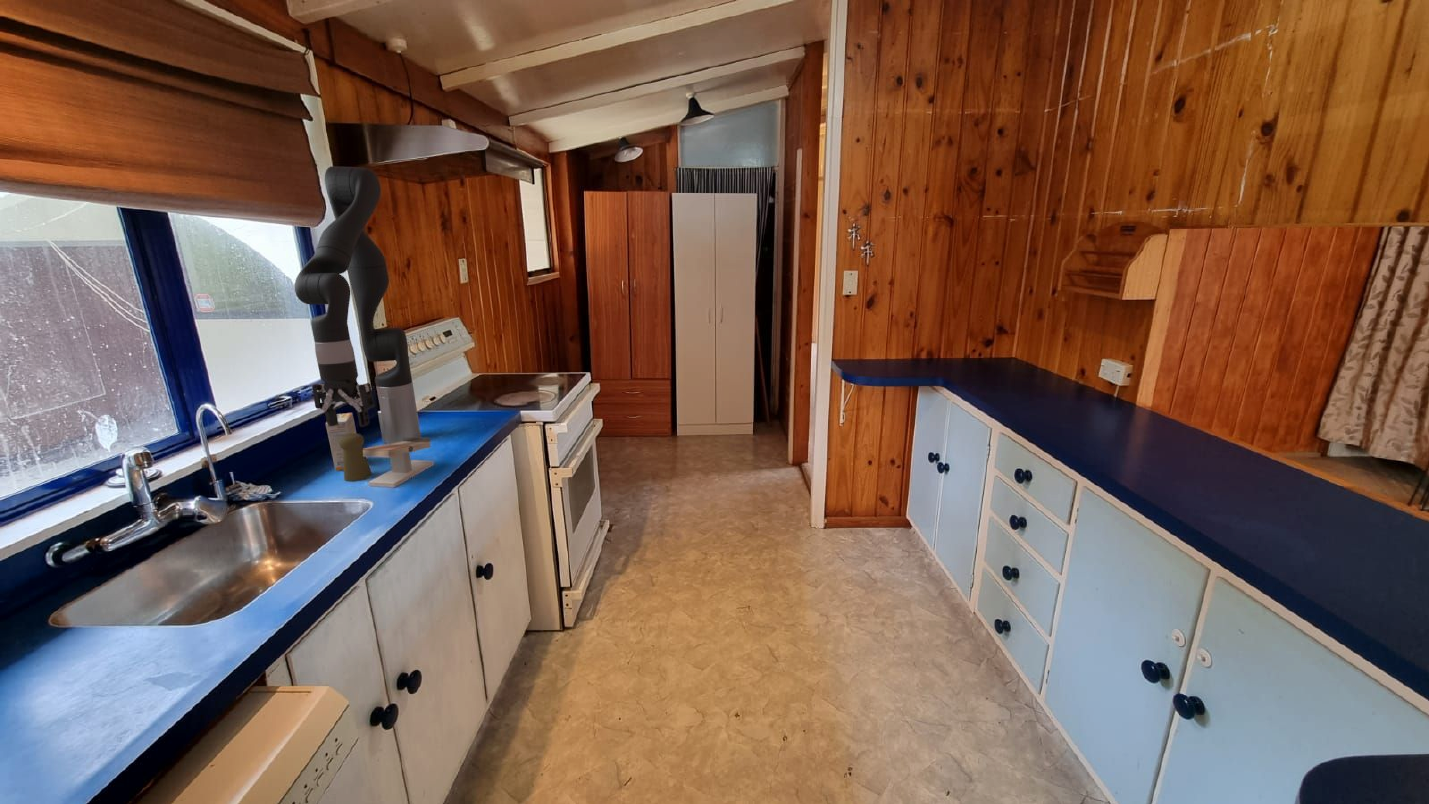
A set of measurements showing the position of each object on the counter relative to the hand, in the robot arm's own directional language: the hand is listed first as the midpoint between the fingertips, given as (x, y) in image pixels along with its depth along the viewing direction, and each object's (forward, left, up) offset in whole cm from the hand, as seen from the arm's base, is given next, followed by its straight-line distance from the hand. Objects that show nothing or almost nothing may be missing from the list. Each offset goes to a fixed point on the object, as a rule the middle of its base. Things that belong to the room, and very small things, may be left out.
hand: (348, 425), depth 138 cm
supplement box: (-9, +7, -14) cm, 18 cm away
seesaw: (+10, +3, -6) cm, 12 cm away
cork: (0, 0, -14) cm, 14 cm away
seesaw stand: (+10, +3, -13) cm, 17 cm away
